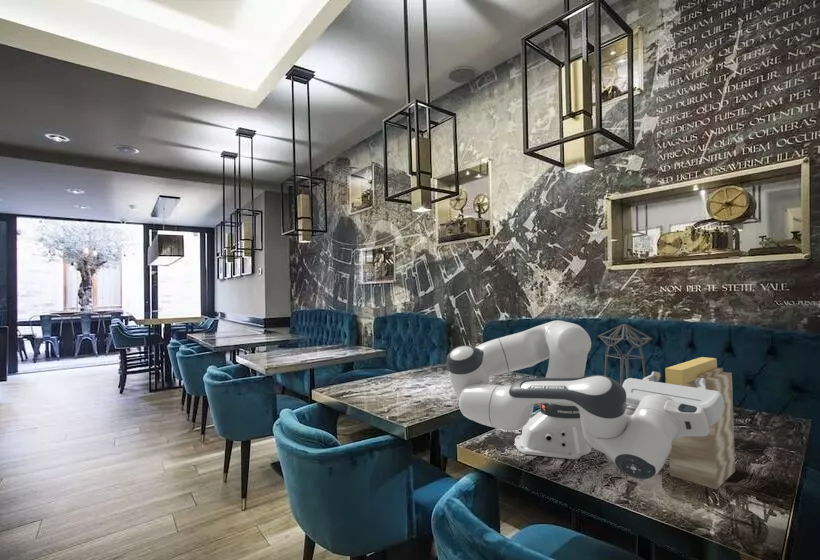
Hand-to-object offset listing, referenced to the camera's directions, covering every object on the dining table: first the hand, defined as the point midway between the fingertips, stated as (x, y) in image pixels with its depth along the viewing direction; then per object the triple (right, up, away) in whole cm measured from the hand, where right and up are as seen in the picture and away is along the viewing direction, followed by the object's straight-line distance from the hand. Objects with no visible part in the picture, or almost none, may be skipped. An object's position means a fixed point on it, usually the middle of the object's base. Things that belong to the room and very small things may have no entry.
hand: (678, 376), depth 98 cm
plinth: (+12, -28, +9) cm, 32 cm away
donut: (+11, -29, +37) cm, 48 cm away
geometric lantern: (+23, -30, +67) cm, 77 cm away
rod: (+8, -2, +7) cm, 11 cm away
